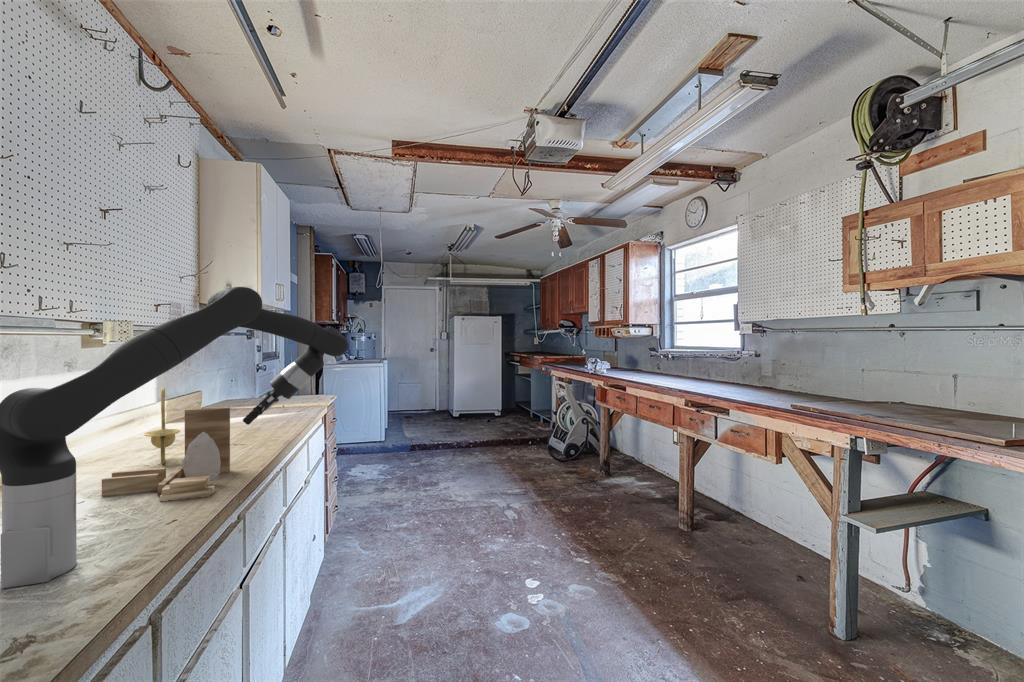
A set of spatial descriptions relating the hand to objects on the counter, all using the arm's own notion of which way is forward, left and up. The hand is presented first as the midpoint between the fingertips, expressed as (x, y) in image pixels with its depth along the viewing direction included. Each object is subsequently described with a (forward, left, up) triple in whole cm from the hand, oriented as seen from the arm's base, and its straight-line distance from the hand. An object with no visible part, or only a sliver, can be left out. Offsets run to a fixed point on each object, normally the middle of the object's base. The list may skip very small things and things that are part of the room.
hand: (247, 419), depth 132 cm
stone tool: (0, +11, -18) cm, 21 cm away
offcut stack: (-9, +12, -18) cm, 24 cm away
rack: (+3, +13, -18) cm, 23 cm away
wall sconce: (+30, +29, -18) cm, 46 cm away
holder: (+2, +27, -18) cm, 33 cm away
